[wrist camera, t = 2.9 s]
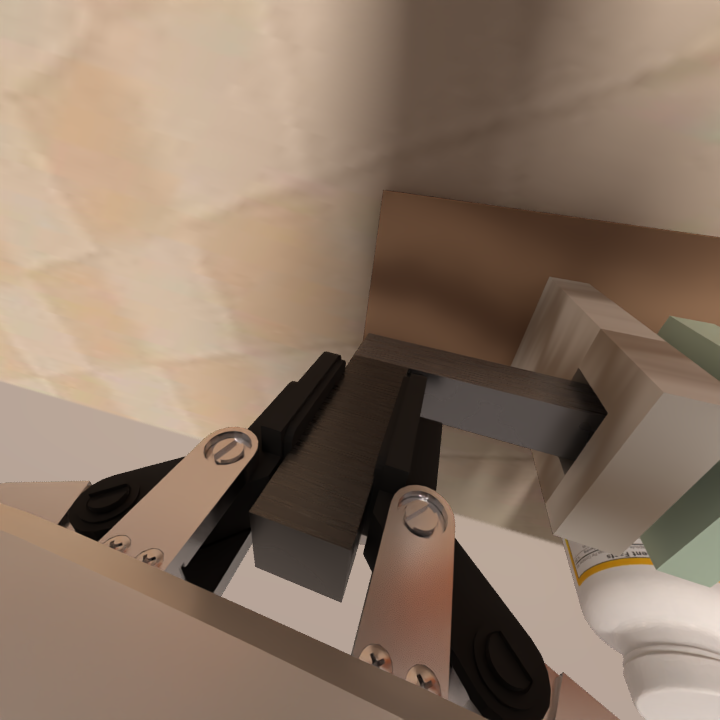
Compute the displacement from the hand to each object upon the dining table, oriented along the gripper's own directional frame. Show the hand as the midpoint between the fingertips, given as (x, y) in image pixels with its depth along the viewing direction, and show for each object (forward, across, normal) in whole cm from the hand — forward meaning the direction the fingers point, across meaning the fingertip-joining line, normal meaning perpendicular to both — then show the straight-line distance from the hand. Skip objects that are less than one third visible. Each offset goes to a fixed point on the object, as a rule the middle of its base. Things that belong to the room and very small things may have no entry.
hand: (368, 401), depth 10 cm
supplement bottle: (+12, -16, +11) cm, 23 cm away
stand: (+12, -8, 0) cm, 15 cm away
